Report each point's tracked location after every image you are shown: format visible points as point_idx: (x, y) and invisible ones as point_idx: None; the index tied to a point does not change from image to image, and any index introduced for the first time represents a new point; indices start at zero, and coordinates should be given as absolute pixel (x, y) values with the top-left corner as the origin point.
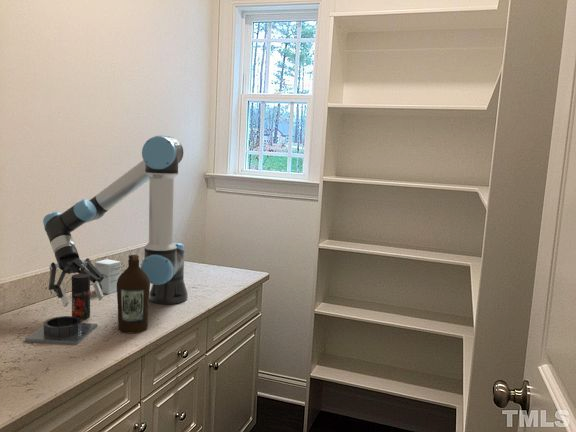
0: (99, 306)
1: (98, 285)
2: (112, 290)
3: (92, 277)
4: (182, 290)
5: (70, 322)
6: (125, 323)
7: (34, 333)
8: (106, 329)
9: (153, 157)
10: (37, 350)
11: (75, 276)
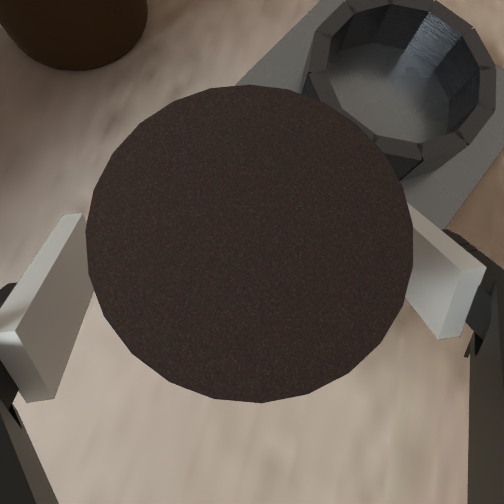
0: (54, 469)
1: (26, 286)
2: None
3: (2, 409)
4: None
5: None
6: None
7: (500, 133)
8: (188, 64)
9: None
10: (489, 3)
11: (353, 227)
